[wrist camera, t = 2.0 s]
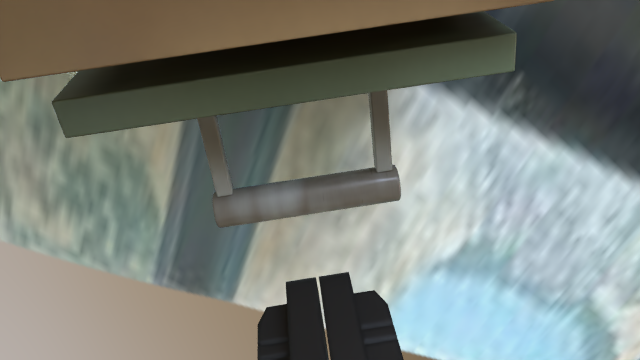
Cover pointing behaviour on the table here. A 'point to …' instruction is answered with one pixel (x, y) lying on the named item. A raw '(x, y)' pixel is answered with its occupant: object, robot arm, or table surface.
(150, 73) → the drawer
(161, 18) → the cabinet
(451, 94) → the table surface
